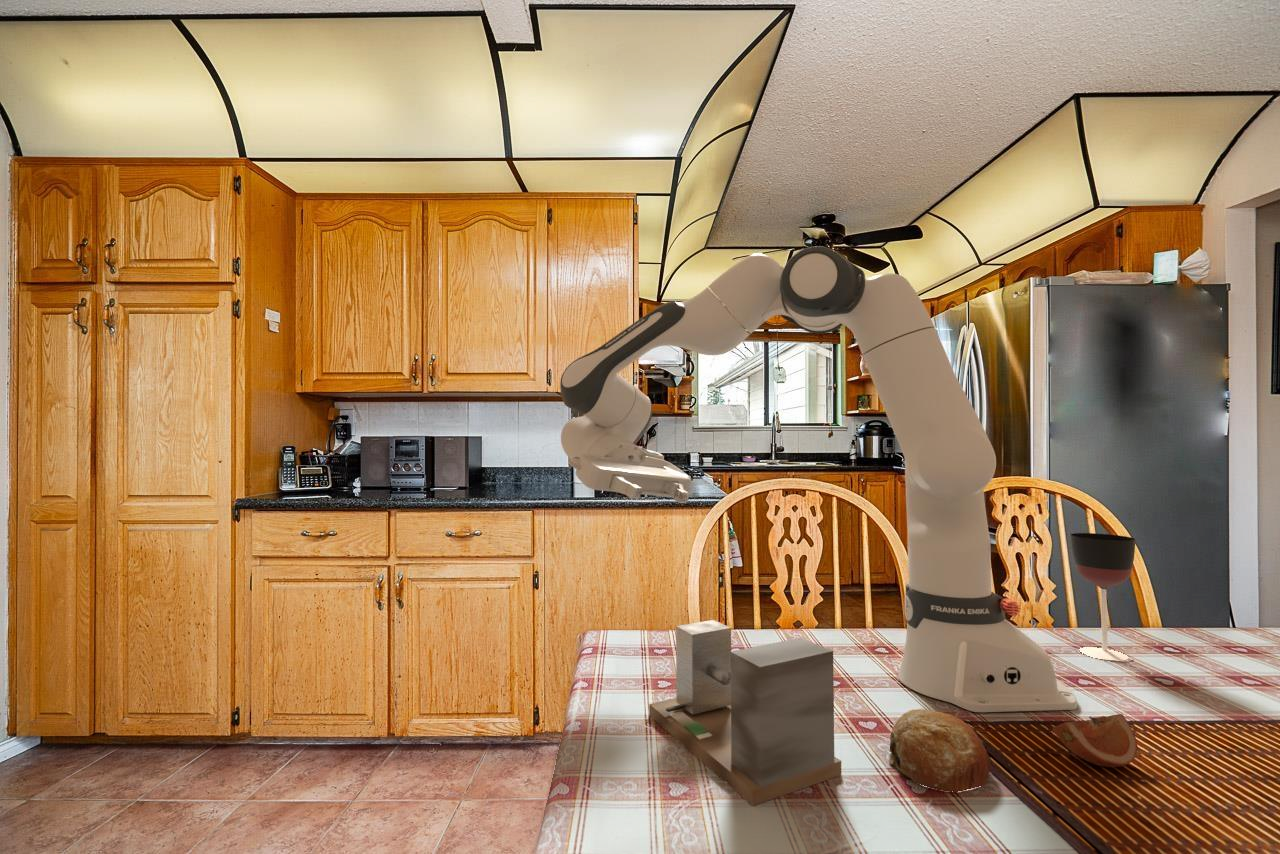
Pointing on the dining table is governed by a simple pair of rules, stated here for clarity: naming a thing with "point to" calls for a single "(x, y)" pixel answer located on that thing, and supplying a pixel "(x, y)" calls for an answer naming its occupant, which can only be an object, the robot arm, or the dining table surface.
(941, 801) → the dining table surface
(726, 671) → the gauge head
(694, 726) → the base
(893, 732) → the bread roll
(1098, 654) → the wineglass
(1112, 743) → the fruit slice
